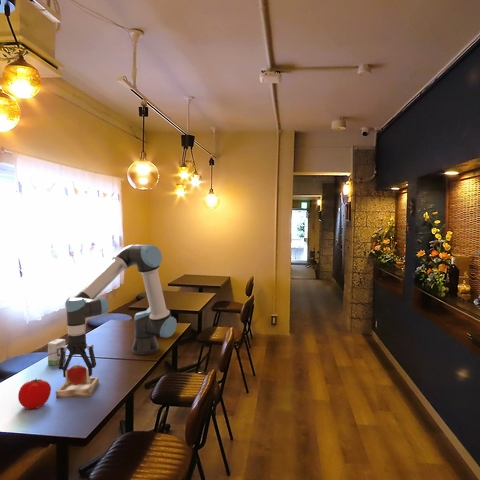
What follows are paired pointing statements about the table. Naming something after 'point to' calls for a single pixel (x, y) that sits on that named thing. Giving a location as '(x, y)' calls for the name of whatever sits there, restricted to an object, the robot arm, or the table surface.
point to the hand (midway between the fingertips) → (78, 383)
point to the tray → (77, 389)
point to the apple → (77, 374)
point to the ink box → (55, 351)
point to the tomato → (34, 393)
